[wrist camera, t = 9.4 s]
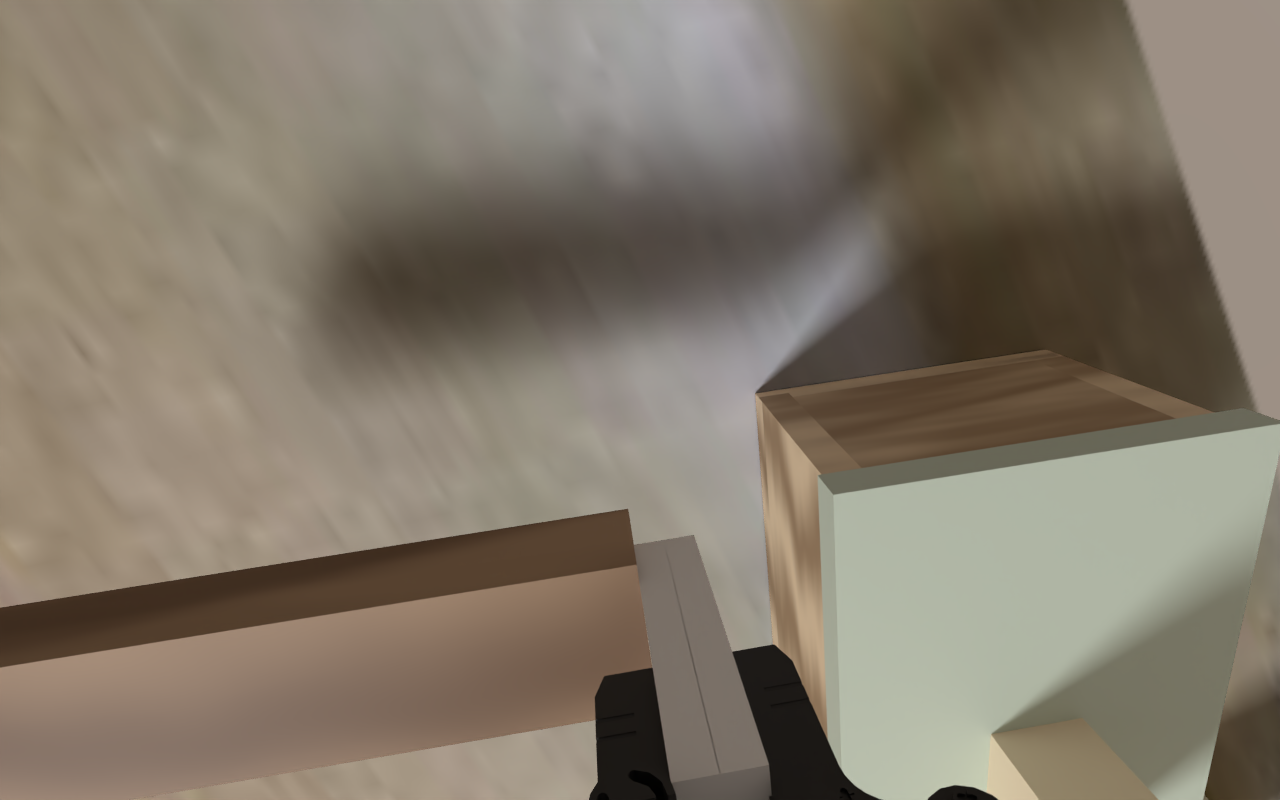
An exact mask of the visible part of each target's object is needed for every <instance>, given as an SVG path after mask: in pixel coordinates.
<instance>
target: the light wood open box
mask: <svg viewBox="0 0 1280 800" xmlns="http://www.w3.org/2000/svg"><path fill="white" fill-rule="evenodd" d="M755 397H756V411H757V425H758V439H759V453H760V468H761V482H762V496H763V510H764V524H765V538H766V552H767V566H768V580H769V594H770V609H771V623H772V637H773V645H774V644H775V645H776V646H777V647H778V648H779V649H780V650H781V651H782V652H783V653H785V654H786V655H787V656H788V657H789V658H790V659H791V660H792V661H793V663H794V665H795V668H796V670H797V672H798V674H799V677H800V679H801V681H802V685H803V686H804V688H805V690H806V692H807V695H808V697H809V701H810V702H811V704H812V706H813V708H814V710H815V713H816V715H817V717H818V719H819V722H820V724H821V726H822V728H823V731H824V733H825V735H826V737H827V740H828V733H827V707H826V681H825V656H824V630H823V604H822V578H821V553H820V527H819V501H818V475H821V474H828V473H834V472H840V471H847V470H853V469H859V468H866V467H872V466H878V465H885V464H891V463H897V462H904V461H910V460H916V459H923V458H929V457H935V456H942V455H948V454H955V453H961V452H967V451H974V450H980V449H986V448H993V447H999V446H1005V445H1012V444H1018V443H1024V442H1031V441H1037V440H1043V439H1050V438H1056V437H1063V436H1069V435H1075V434H1082V433H1088V432H1094V431H1101V430H1107V429H1113V428H1120V427H1126V426H1132V425H1139V424H1145V423H1151V422H1158V421H1164V420H1171V419H1177V418H1183V417H1190V416H1196V415H1202V414H1209V413H1215V412H1212V411H1209V410H1207V409H1204V408H1201V407H1199V406H1196V405H1193V404H1190V403H1188V402H1185V401H1182V400H1180V399H1177V398H1174V397H1172V396H1169V395H1166V394H1164V393H1161V392H1158V391H1156V390H1153V389H1150V388H1148V387H1145V386H1142V385H1140V384H1137V383H1134V382H1132V381H1129V380H1126V379H1124V378H1121V377H1118V376H1116V375H1113V374H1110V373H1108V372H1105V371H1102V370H1100V369H1097V368H1094V367H1092V366H1089V365H1086V364H1084V363H1081V362H1078V361H1076V360H1073V359H1070V358H1068V357H1065V356H1062V355H1060V354H1057V353H1054V352H1052V351H1049V350H1039V351H1033V352H1026V353H1019V354H1013V355H1006V356H999V357H993V358H986V359H980V360H973V361H966V362H960V363H953V364H946V365H940V366H933V367H927V368H920V369H913V370H907V371H900V372H894V373H887V374H880V375H874V376H867V377H860V378H854V379H847V380H841V381H834V382H827V383H821V384H814V385H807V386H801V387H794V388H788V389H781V390H774V391H768V392H761V393H755Z"/></svg>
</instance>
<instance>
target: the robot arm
mask: <svg viewBox="0 0 1280 800" xmlns="http://www.w3.org/2000/svg"><path fill="white" fill-rule="evenodd" d="M634 550H635V557H636V563H637V570H638V576H639V584H640V590H641V597H642V603H643V610H644V616H645V622H646V629H647V635H648V641H649V648H650V654H651V660H652V667H653V668H647V669H641V670H636V671H630V672H624V673H619V674H613V675H607V676H604V677H603V680H602V682H601V684H600V686H599V689H598V691H597V693H596V695H595V720H596V740H597V743H596V746H597V772H598V783H597V784H596V786H595V787H594V789H593V791H592V792H591V794H590V798H589V800H882V799H878V798H876V797H874V796H871V795H869V794H867V793H865V792H864V791H862V790H861V789H859V788H858V787H857V786H855V785H854V784H853V783H852V782H851V781H850V780H849V779H848V778H847V777H846V776H845V774H844V773H843V771H842V769H841V768H840V766H839V764H838V762H837V760H836V758H835V755H834V753H833V751H832V749H831V746H830V744H829V742H828V740H827V737H826V735H825V733H824V731H823V728H822V726H821V724H820V722H819V719H818V717H817V715H816V713H815V710H814V708H813V706H812V704H811V702H810V701H809V697H808V695H807V692H806V690H805V688H804V686H803V685H802V681H801V679H800V677H799V674H798V672H797V670H796V668H795V665H794V663H793V661H792V660H791V659H790V658H789V657H788V656H787V655H786V654H785V653H783V652H782V651H781V650H780V649H779V648H778V647H777V646H776V645H775V644H774V645H768V646H763V647H757V648H751V649H746V650H740V651H734V652H732V650H731V647H730V644H729V641H728V638H727V635H726V632H725V629H724V626H723V623H722V620H721V617H720V614H719V610H718V607H717V604H716V601H715V598H714V595H713V592H712V589H711V586H710V583H709V580H708V577H707V574H706V571H705V568H704V565H703V562H702V559H701V556H700V552H699V549H698V546H697V543H696V540H695V537H694V535H691V536H685V537H679V538H673V539H667V540H661V541H655V542H649V543H643V544H637V545H634ZM928 800H998V799H997V798H996V797H994V796H993V795H991V794H989V793H986V792H984V791H982V790H979V789H977V788H975V787H968V786H960V785H953V786H949V787H945V788H940V789H939V790H937V791H936V792H935V793H934V794H932V795H931V796H930V797H929V798H928Z"/></svg>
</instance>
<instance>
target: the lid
mask: <svg viewBox="0 0 1280 800" xmlns="http://www.w3.org/2000/svg"><path fill="white" fill-rule="evenodd" d="M1279 453H1280V420H1277V419H1274V418H1271V417H1268V416H1265V415H1263V414H1260V413H1257V412H1254V411H1251V410H1248V409H1245V408H1240V409H1234V410H1228V411H1221V412H1215V413H1209V414H1202V415H1196V416H1190V417H1183V418H1177V419H1171V420H1164V421H1158V422H1151V423H1145V424H1139V425H1132V426H1126V427H1120V428H1113V429H1107V430H1101V431H1094V432H1088V433H1082V434H1075V435H1069V436H1063V437H1056V438H1050V439H1043V440H1037V441H1031V442H1024V443H1018V444H1012V445H1005V446H999V447H993V448H986V449H980V450H974V451H967V452H961V453H955V454H948V455H942V456H935V457H929V458H923V459H916V460H910V461H904V462H897V463H891V464H885V465H878V466H872V467H866V468H859V469H853V470H847V471H840V472H834V473H828V474H821V475H818V501H819V527H820V553H821V578H822V604H823V630H824V656H825V681H826V707H827V733H828V742H829V744H830V746H831V749H832V751H833V753H834V755H835V758H836V760H837V762H838V764H839V766H840V768H841V769H842V771H843V773H844V774H845V776H846V777H847V778H848V779H849V780H850V781H851V782H852V783H853V784H854V785H855V786H857V787H858V788H859V789H861V790H862V791H864V792H865V793H867V794H869V795H871V796H874V797H876V798H878V799H882V800H928V798H929V797H930V796H931V795H932V794H934V793H935V792H936V791H937V790H939V789H940V788H945V787H949V786H953V785H960V786H968V787H975V788H977V789H979V790H982V791H984V792H986V793H989V794H991V795H993V796H994V797H996V798H997V799H998V800H1203V798H1204V793H1205V789H1206V784H1207V780H1208V775H1209V770H1210V766H1211V761H1212V757H1213V752H1214V748H1215V743H1216V739H1217V734H1218V730H1219V725H1220V721H1221V716H1222V712H1223V707H1224V703H1225V698H1226V693H1227V689H1228V684H1229V680H1230V675H1231V671H1232V666H1233V662H1234V657H1235V653H1236V648H1237V644H1238V639H1239V635H1240V630H1241V626H1242V621H1243V616H1244V612H1245V607H1246V603H1247V598H1248V594H1249V589H1250V585H1251V580H1252V576H1253V571H1254V567H1255V562H1256V558H1257V553H1258V549H1259V544H1260V539H1261V535H1262V530H1263V526H1264V521H1265V517H1266V512H1267V508H1268V503H1269V499H1270V494H1271V490H1272V485H1273V481H1274V476H1275V471H1276V467H1277V462H1278V458H1279Z"/></svg>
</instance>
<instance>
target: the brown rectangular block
mask: <svg viewBox="0 0 1280 800" xmlns="http://www.w3.org/2000/svg"><path fill="white" fill-rule="evenodd" d="M647 668H652V664H651V657H650V650H649V643H648V637H647V630H646V623H645V617H644V610H643V603H642V597H641V590H640V584H639V576H638V570H637V563H636V557H635V550H634V544H633V537H632V531H631V524H630V518H629V512H628V509H624V510H618V511H611V512H605V513H599V514H592V515H586V516H580V517H573V518H567V519H561V520H554V521H548V522H541V523H535V524H529V525H522V526H516V527H510V528H503V529H497V530H491V531H484V532H478V533H472V534H465V535H459V536H453V537H446V538H440V539H434V540H427V541H421V542H415V543H408V544H402V545H396V546H389V547H383V548H377V549H370V550H364V551H358V552H351V553H345V554H339V555H332V556H326V557H320V558H313V559H307V560H301V561H294V562H288V563H281V564H275V565H269V566H262V567H256V568H250V569H243V570H237V571H231V572H224V573H218V574H212V575H205V576H199V577H193V578H186V579H180V580H174V581H167V582H161V583H155V584H148V585H142V586H136V587H129V588H123V589H117V590H110V591H104V592H98V593H91V594H85V595H79V596H72V597H66V598H60V599H53V600H47V601H41V602H34V603H28V604H22V605H15V606H9V607H2V608H0V800H133V799H139V798H145V797H150V796H156V795H162V794H168V793H174V792H179V791H185V790H191V789H197V788H203V787H208V786H214V785H220V784H226V783H232V782H238V781H243V780H249V779H255V778H261V777H267V776H272V775H278V774H284V773H290V772H296V771H302V770H307V769H313V768H319V767H325V766H331V765H336V764H342V763H348V762H354V761H360V760H365V759H371V758H377V757H383V756H389V755H395V754H400V753H406V752H412V751H418V750H424V749H429V748H435V747H441V746H447V745H453V744H459V743H464V742H470V741H476V740H482V739H488V738H493V737H499V736H505V735H511V734H517V733H522V732H528V731H534V730H540V729H546V728H552V727H557V726H563V725H569V724H575V723H581V722H586V721H592V720H595V695H596V693H597V691H598V689H599V686H600V684H601V682H602V680H603V677H604V676H607V675H613V674H619V673H624V672H630V671H636V670H641V669H647Z"/></svg>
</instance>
